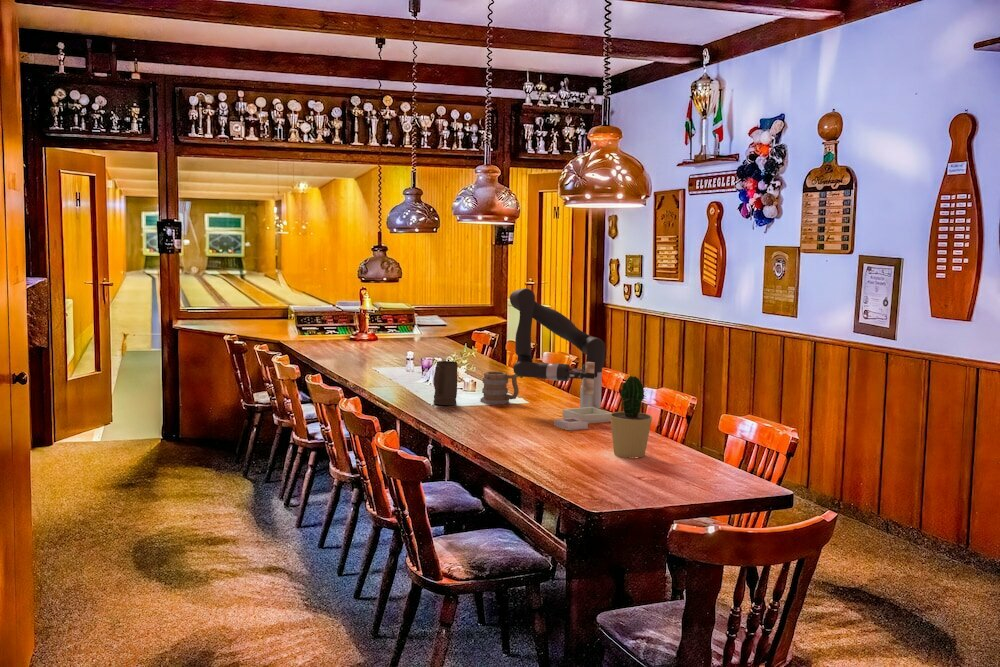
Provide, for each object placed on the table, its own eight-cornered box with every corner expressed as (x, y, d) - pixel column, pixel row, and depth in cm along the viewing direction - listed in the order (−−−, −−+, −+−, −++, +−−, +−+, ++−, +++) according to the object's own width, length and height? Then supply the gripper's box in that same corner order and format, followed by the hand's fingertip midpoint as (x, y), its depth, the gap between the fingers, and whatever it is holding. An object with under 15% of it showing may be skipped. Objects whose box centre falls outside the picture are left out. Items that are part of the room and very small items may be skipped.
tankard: (478, 403, 440) (478, 371, 438) (486, 398, 452) (487, 368, 450) (518, 406, 434) (519, 374, 433) (525, 402, 446) (526, 371, 445)
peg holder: (554, 425, 393) (554, 418, 392) (574, 424, 398) (574, 417, 397) (567, 430, 384) (567, 423, 384) (587, 428, 389) (587, 421, 389)
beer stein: (439, 401, 441) (440, 359, 439) (460, 403, 438) (461, 361, 436) (426, 406, 427) (427, 363, 425) (447, 408, 423) (449, 365, 421)
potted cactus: (601, 451, 350) (604, 372, 346) (637, 448, 355) (641, 371, 352) (620, 460, 335) (624, 378, 332) (657, 458, 341) (662, 377, 337)
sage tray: (562, 416, 413) (562, 409, 412) (592, 414, 420) (592, 406, 420) (583, 423, 399) (583, 415, 398) (613, 421, 407) (613, 413, 406)
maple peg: (582, 393, 409) (583, 362, 408) (589, 393, 411) (591, 361, 410) (587, 395, 406) (589, 363, 404) (595, 394, 408) (596, 363, 406)
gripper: (553, 365, 405) (592, 368, 399) (563, 361, 419) (600, 364, 413) (553, 382, 406) (591, 386, 400) (562, 378, 419) (599, 381, 414)
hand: (595, 375), depth 407 cm, fingers closed on maple peg, 4 cm apart
